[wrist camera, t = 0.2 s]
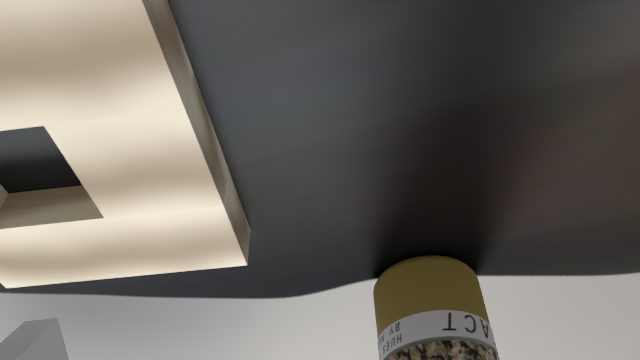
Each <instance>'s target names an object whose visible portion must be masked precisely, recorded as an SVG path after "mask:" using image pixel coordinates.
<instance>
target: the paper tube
mask: <svg viewBox="0 0 640 360" xmlns="http://www.w3.org/2000/svg"><path fill="white" fill-rule="evenodd" d="M374 305H375V315H376V325H377V334H378V349H379V359H380V360H499V357H498V352H497V348H496V344H495V341H494V337H493V333H492V329H491V327H490V324H489V319H488V316H487V312H486V308H485V304H484V300H483V296H482V292H481V289H480V285H479V281H478V278H477V276H476V274H475V272H474V271H473V270H472V269H471V268H470V267H469V266H467V265H466V264H465V263H463V262H461V261H459V260H457V259H454V258H451V257H446V256H438V255H426V256H418V257H413V258H409V259H406V260H403V261H401V262H398V263H396V264H394V265H392V266H391V267H389V268H388V269H387V270H385V271H384V272H383V273H382V274H381V276H380V277H379V279H378V280H377V282H376V284H375V286H374Z"/></svg>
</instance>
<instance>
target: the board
mask: <svg viewBox="0 0 640 360" xmlns="http://www.w3.org/2000/svg"><path fill="white" fill-rule="evenodd" d="M37 126H44V127H45V128H46V130H47V131H48V133H49V134H50V136H51V137H52V139H53V140H54V142H55V143H56V145H57V147H58V148H59V150H60V151H61V153H62V154H63V156H64V157H65V159H66V160H67V162H68V163H69V165H70V166H71V168H72V169H73V171H74V173H75V174H76V176H77V177H78V179H79V180H80V182H81V183H82V185H80V186H71V187H62V188H53V189H44V190H35V191H26V192H17V193H8V192H7V191H6V190H5V189H4V188H3V186H2V185H1V184H0V283H1V284H2V285H3V286H4V287H5V288H14V287H25V286H35V285H46V284H56V283H66V282H77V281H87V280H98V279H108V278H119V277H129V276H140V275H150V274H161V273H171V272H181V271H192V270H202V269H213V268H223V267H234V266H244V265H247V262H248V251H249V240H250V227H249V224H248V222H247V219H246V216H245V213H244V210H243V208H242V205H241V202H240V199H239V197H238V194H237V191H236V188H235V186H234V183H233V180H232V177H231V175H230V172H229V169H228V166H227V163H226V161H225V158H224V155H223V152H222V150H221V147H220V144H219V141H218V139H217V136H216V133H215V130H214V128H213V125H212V122H211V119H210V117H209V114H208V111H207V108H206V105H205V103H204V100H203V97H202V94H201V92H200V89H199V86H198V83H197V81H196V78H195V75H194V72H193V70H192V67H191V64H190V61H189V58H188V56H187V53H186V50H185V47H184V45H183V42H182V39H181V36H180V34H179V31H178V28H177V25H176V23H175V20H174V17H173V14H172V12H171V9H170V6H169V3H168V0H0V131H4V130H12V129H20V128H28V127H37Z"/></svg>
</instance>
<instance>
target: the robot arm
mask: <svg viewBox="0 0 640 360" xmlns="http://www.w3.org/2000/svg"><path fill="white" fill-rule="evenodd" d="M0 360H69V359H68V355H67V352H66V348H65V344H64V340H63V336H62V333H61V329H60V325H59V321H58V318H52V319H44V320H34V321H26V322H24V323H23V324H21V325H20V326H19V327H18V328H17V329H16V330H15V331H14V332H12V333H11V334H10V335H9V336H8V337H7V338H6V339H5V340H3V341H2V342H1V343H0Z"/></svg>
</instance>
